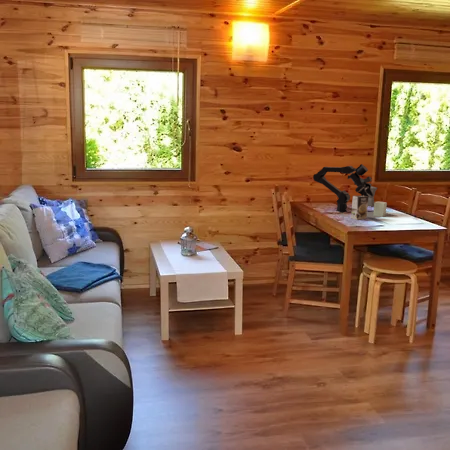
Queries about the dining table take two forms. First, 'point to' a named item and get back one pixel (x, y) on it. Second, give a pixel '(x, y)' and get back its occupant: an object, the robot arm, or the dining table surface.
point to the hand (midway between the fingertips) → (370, 196)
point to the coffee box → (359, 207)
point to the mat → (370, 214)
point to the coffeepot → (371, 198)
